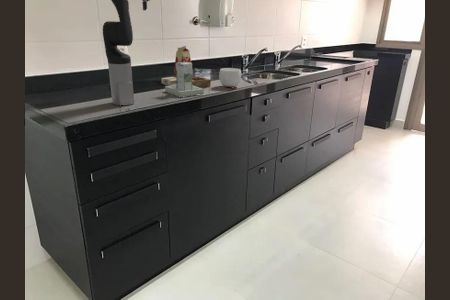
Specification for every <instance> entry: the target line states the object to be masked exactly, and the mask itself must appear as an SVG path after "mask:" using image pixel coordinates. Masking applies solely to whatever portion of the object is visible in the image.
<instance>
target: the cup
mask: <svg viewBox="0 0 450 300" xmlns="http://www.w3.org/2000/svg"><path fill="white" fill-rule="evenodd" d="M218 73H219V75H218V78H219V79H218V80H219V82H220V85H222V86H224V88H226V87H234V88H235V87H236V86H238V85H240V83H241V81H242V70H241V69H240V68H237V67H236V68H235V67H225V68H224V67H223V68H220V70H219V72H218Z"/></svg>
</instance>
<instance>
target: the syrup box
mask: <svg viewBox="0 0 450 300" xmlns="http://www.w3.org/2000/svg"><path fill="white" fill-rule="evenodd" d="M192 70H193V63H192V62H191V63H189V62H179V63H176V88H177V90H180V91H188V90H192Z"/></svg>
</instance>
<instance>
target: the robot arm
mask: <svg viewBox="0 0 450 300" xmlns="http://www.w3.org/2000/svg"><path fill="white" fill-rule="evenodd" d="M110 1H111V3H112V4H113V6H114V7H115V10H116V12H117V15H118V19H119V21H113V20H112V21H110V20H109V21H108V20H107V21H105V22H104V23H103V24H102V38H103V42H104V43H103V44H104V50H105V51H104V52H105V56H106V59H107V65H108V67H107V68H108V75H109V85H110V94H111V101H112V105H115V106H121V105H123V106H129V105H134V104H135V95H134V94H135V93H134V84H133V71H132V60H131V56H130V55H129V54H128V53H125V52H123V51H121V50H120V49H119V48H118V46H119V47H129V46H131V45H132V43H133V39H134V38H133V37H134V36H133V35H134V33H133V26H132V21H131V16H130V6H129V5H130V4H129V3H130V2H129V0H110ZM149 1H150V0H142V11H147V9H148V4H147V3H148V2H149Z"/></svg>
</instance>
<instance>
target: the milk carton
mask: <svg viewBox="0 0 450 300" xmlns="http://www.w3.org/2000/svg"><path fill="white" fill-rule="evenodd" d="M179 62H189V63H192V59H191V53H190V50H189V49H187V46H186V45H183V46H181V47H177V50H176V53H175V61H174V77H176V63H179ZM193 70H194V69H192V77H195V76H194V72H193Z"/></svg>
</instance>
